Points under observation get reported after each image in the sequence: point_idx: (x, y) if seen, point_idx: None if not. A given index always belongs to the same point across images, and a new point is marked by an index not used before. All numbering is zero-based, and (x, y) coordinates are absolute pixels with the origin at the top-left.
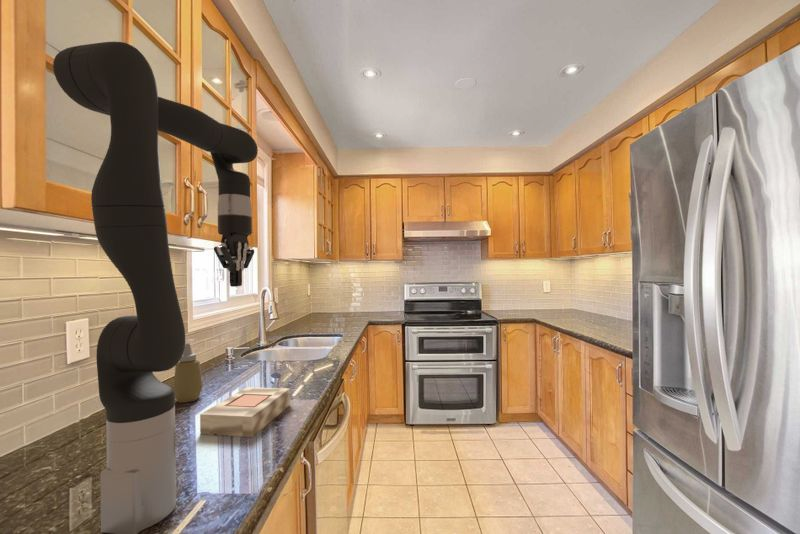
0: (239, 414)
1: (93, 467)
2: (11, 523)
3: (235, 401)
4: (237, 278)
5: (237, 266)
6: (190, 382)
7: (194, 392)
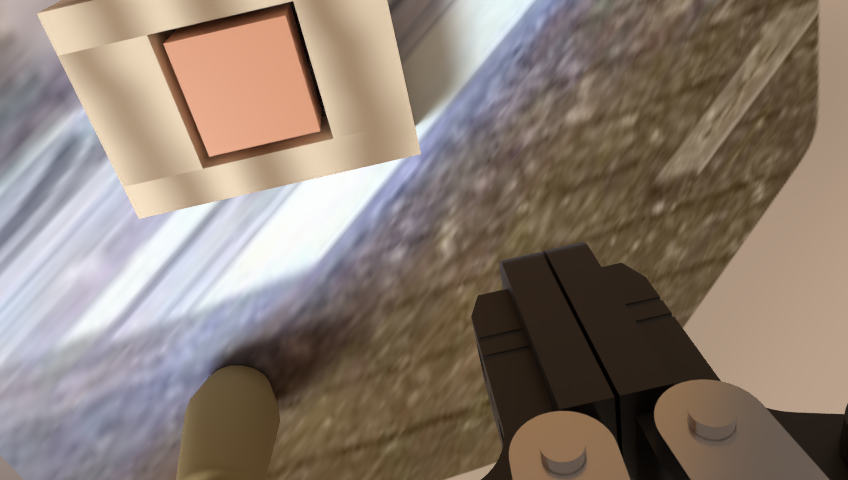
0: (373, 7)
1: (623, 218)
2: (807, 143)
3: (279, 133)
4: (624, 306)
5: (762, 440)
6: (245, 411)
7: (238, 379)
